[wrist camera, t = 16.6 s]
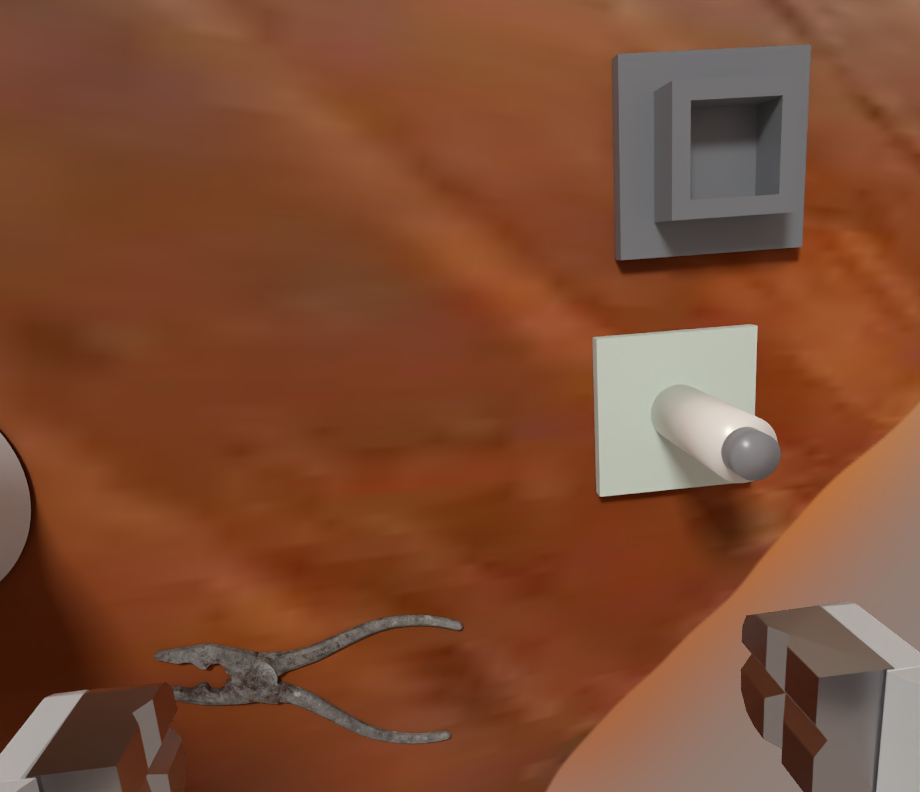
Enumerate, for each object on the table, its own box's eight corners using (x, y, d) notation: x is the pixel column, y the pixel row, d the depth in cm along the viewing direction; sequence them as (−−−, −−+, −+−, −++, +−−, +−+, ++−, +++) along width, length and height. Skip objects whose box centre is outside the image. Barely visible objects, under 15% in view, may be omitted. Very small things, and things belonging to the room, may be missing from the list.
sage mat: (596, 492, 43) (600, 496, 42) (592, 337, 41) (596, 339, 40) (746, 477, 44) (752, 481, 43) (750, 324, 41) (757, 325, 41)
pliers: (475, 738, 45) (174, 785, 44) (473, 729, 46) (178, 775, 45) (461, 610, 43) (144, 655, 42) (460, 603, 44) (149, 647, 43)
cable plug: (650, 441, 41) (721, 494, 33) (650, 386, 41) (722, 425, 32) (704, 436, 42) (790, 487, 33) (705, 381, 41) (792, 419, 32)
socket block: (615, 260, 40) (636, 261, 36) (612, 58, 37) (634, 39, 34) (792, 246, 40) (828, 246, 37) (800, 49, 38) (840, 30, 35)
